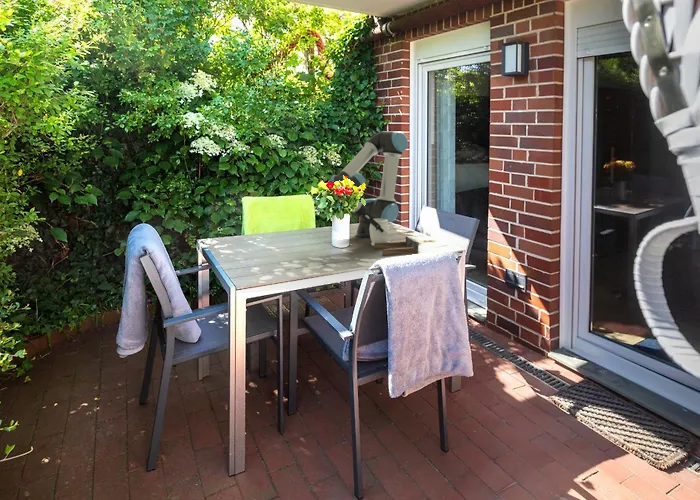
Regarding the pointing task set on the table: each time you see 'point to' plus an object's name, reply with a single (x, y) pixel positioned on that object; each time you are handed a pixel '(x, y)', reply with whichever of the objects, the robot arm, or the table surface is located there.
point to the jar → (375, 234)
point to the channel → (408, 243)
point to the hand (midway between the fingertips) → (382, 233)
